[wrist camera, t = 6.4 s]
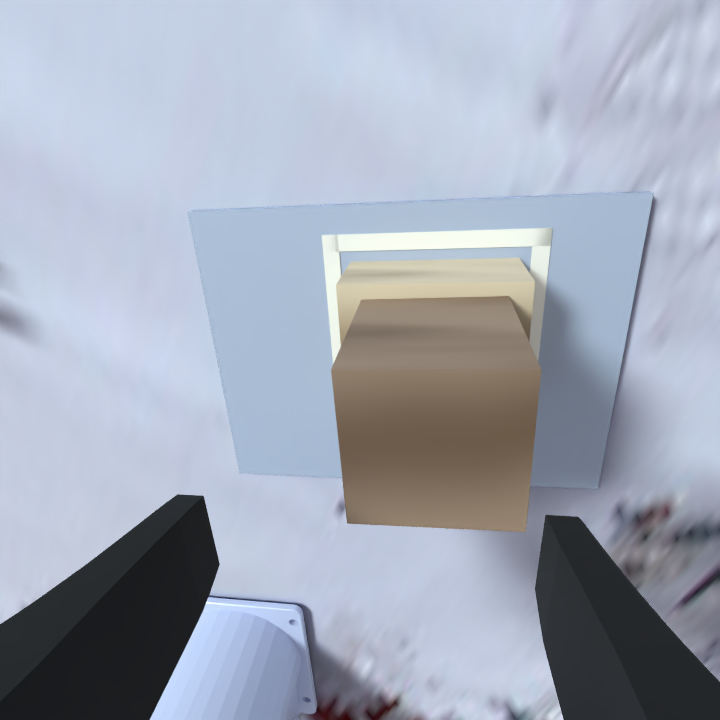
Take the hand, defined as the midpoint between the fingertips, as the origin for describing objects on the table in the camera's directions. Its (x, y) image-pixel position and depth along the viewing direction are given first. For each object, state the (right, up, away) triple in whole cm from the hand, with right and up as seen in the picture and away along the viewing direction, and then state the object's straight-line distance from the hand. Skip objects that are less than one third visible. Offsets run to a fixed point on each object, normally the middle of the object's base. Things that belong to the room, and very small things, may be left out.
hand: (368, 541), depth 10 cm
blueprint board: (+2, +4, +9) cm, 10 cm away
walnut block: (+2, +4, +6) cm, 7 cm away
